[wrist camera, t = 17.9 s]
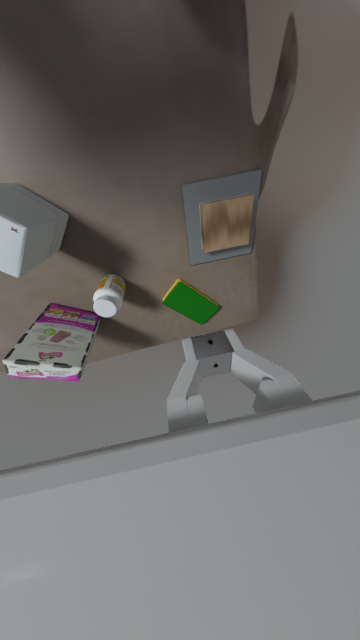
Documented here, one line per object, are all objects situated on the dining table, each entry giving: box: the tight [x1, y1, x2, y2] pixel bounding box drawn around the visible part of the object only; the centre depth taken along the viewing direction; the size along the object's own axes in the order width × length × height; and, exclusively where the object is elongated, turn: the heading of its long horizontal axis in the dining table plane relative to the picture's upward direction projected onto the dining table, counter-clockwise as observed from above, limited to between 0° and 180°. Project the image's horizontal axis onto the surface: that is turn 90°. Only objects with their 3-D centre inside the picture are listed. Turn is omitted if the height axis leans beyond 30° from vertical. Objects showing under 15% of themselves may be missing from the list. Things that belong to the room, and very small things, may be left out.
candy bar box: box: [3, 303, 101, 381], centre depth 34 cm, size 11×5×16 cm, turn 67°
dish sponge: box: [162, 279, 219, 325], centre depth 42 cm, size 7×14×2 cm, turn 52°
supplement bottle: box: [93, 274, 126, 317], centre depth 33 cm, size 5×5×10 cm
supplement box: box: [0, 183, 69, 278], centre depth 23 cm, size 7×7×13 cm
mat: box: [181, 169, 262, 265], centre depth 32 cm, size 14×14×1 cm
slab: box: [199, 194, 254, 253], centre depth 31 cm, size 8×2×9 cm
